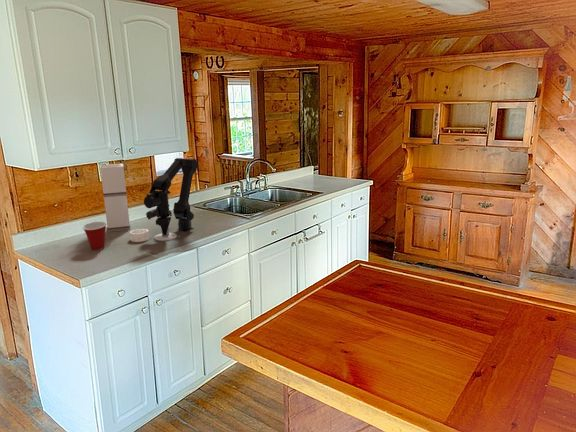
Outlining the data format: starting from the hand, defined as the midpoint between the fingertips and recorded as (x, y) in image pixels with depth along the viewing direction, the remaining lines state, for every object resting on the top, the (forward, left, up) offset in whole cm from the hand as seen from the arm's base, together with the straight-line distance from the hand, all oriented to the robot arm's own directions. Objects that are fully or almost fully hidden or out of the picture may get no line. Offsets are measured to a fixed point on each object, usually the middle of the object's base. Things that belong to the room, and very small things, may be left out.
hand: (165, 233), depth 227 cm
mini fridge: (+2, -37, -3) cm, 37 cm away
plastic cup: (+29, -15, -3) cm, 33 cm away
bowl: (+9, -9, -2) cm, 13 cm away
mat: (0, 0, -2) cm, 2 cm away
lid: (0, 0, -2) cm, 2 cm away
